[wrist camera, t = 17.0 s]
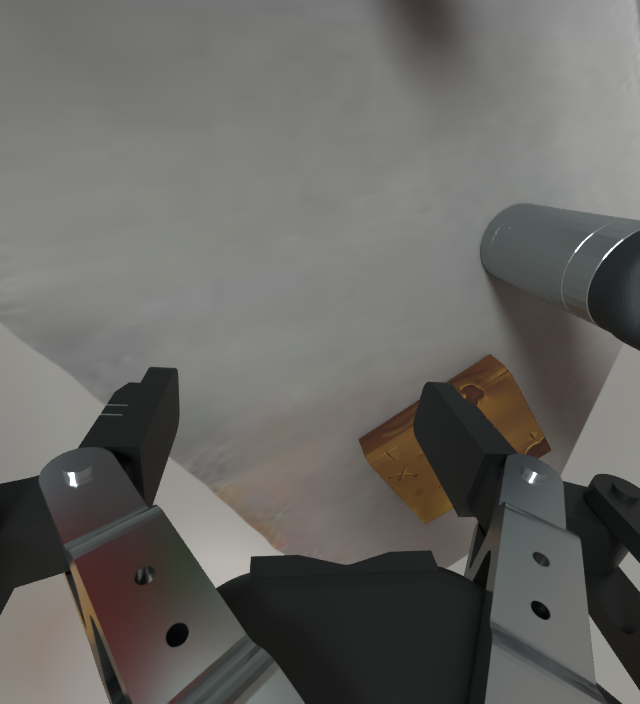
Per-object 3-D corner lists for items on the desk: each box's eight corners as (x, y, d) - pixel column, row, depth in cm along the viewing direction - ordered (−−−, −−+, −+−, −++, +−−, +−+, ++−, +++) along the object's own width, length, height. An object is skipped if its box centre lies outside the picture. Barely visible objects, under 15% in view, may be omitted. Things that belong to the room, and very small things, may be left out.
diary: (485, 350, 54) (509, 369, 49) (527, 426, 62) (551, 450, 57) (357, 435, 58) (366, 462, 53) (412, 497, 66) (426, 525, 61)
